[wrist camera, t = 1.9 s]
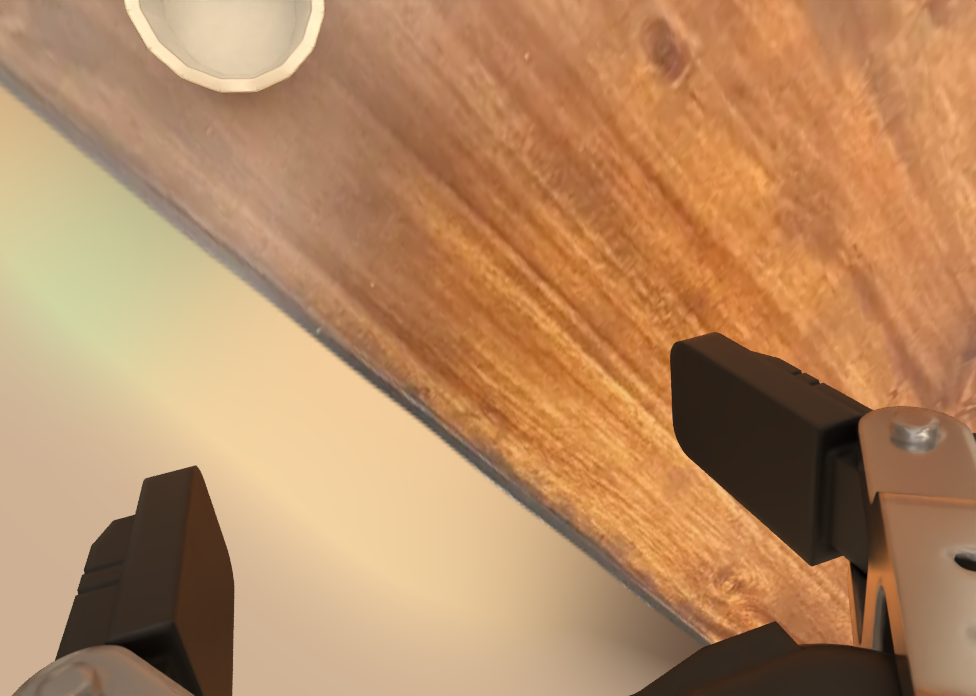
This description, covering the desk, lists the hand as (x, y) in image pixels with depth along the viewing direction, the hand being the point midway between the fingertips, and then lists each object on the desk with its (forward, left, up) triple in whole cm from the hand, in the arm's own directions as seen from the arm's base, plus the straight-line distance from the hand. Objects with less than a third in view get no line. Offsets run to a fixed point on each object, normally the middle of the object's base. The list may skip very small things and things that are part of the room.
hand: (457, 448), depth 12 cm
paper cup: (-6, +6, -22) cm, 23 cm away
